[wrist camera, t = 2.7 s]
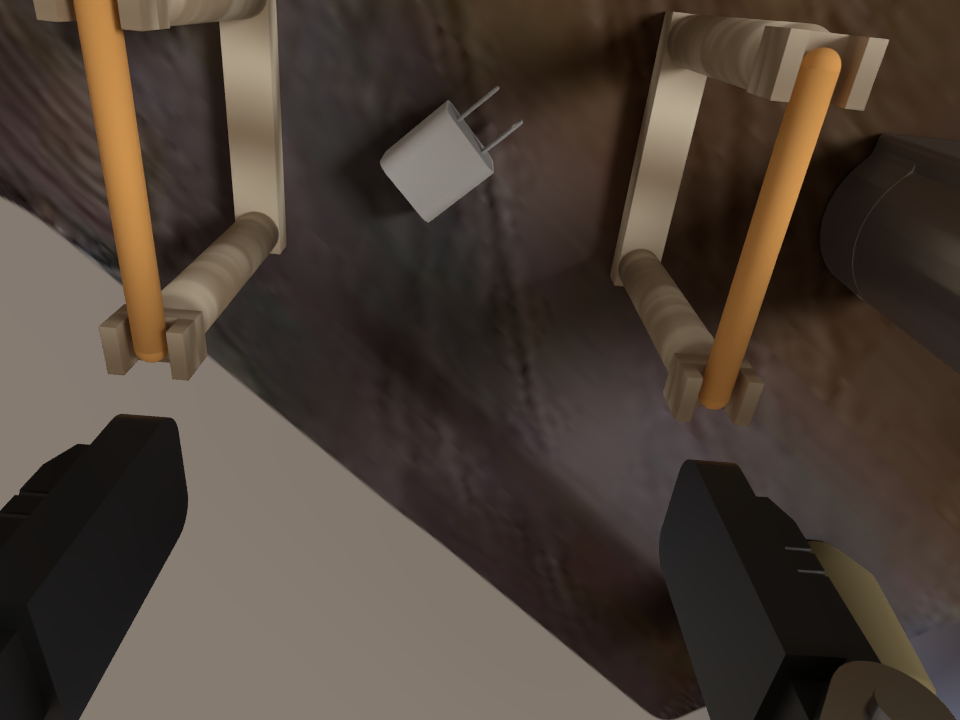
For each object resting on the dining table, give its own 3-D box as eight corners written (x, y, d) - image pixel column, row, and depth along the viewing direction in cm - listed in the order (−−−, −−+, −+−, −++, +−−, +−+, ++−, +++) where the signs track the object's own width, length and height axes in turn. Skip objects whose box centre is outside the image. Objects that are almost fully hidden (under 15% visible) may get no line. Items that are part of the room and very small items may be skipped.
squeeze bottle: (732, 587, 53) (840, 834, 38) (788, 516, 50) (934, 757, 34) (816, 610, 55) (953, 858, 39) (876, 543, 51) (1055, 787, 35)
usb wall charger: (387, 148, 37) (377, 164, 33) (486, 66, 35) (487, 74, 31) (433, 205, 38) (428, 225, 35) (530, 129, 36) (536, 143, 33)
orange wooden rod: (798, 44, 21) (816, 46, 20) (835, 48, 21) (854, 51, 20) (691, 397, 27) (700, 414, 26) (719, 400, 27) (729, 416, 26)
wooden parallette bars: (218, -41, 32) (18, -70, 18) (717, 17, 33) (892, 32, 19) (240, 241, 39) (108, 378, 25) (652, 280, 40) (747, 430, 26)
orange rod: (79, -39, 19) (57, -41, 18) (121, -35, 19) (101, -36, 18) (144, 351, 26) (130, 366, 25) (175, 354, 26) (163, 369, 25)
